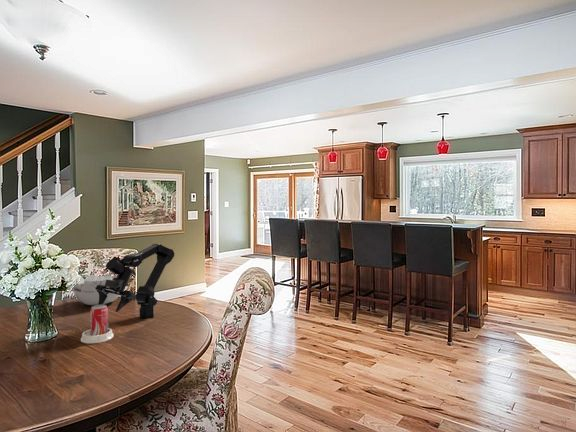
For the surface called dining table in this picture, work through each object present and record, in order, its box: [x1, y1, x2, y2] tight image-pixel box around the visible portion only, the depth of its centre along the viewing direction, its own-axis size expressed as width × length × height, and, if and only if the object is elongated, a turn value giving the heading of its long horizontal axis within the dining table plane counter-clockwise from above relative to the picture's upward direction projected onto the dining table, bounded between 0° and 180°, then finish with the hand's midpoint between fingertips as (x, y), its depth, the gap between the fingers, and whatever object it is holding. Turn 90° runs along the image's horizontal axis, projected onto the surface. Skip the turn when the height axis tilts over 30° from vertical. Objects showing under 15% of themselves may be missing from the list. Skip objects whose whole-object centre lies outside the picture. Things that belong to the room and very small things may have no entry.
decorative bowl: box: [71, 273, 120, 306], centre depth 234 cm, size 30×30×15 cm
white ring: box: [80, 327, 114, 345], centre depth 176 cm, size 13×13×3 cm
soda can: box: [89, 304, 109, 336], centre depth 177 cm, size 7×7×13 cm
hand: (107, 309), depth 185 cm, fingers open, 9 cm apart
